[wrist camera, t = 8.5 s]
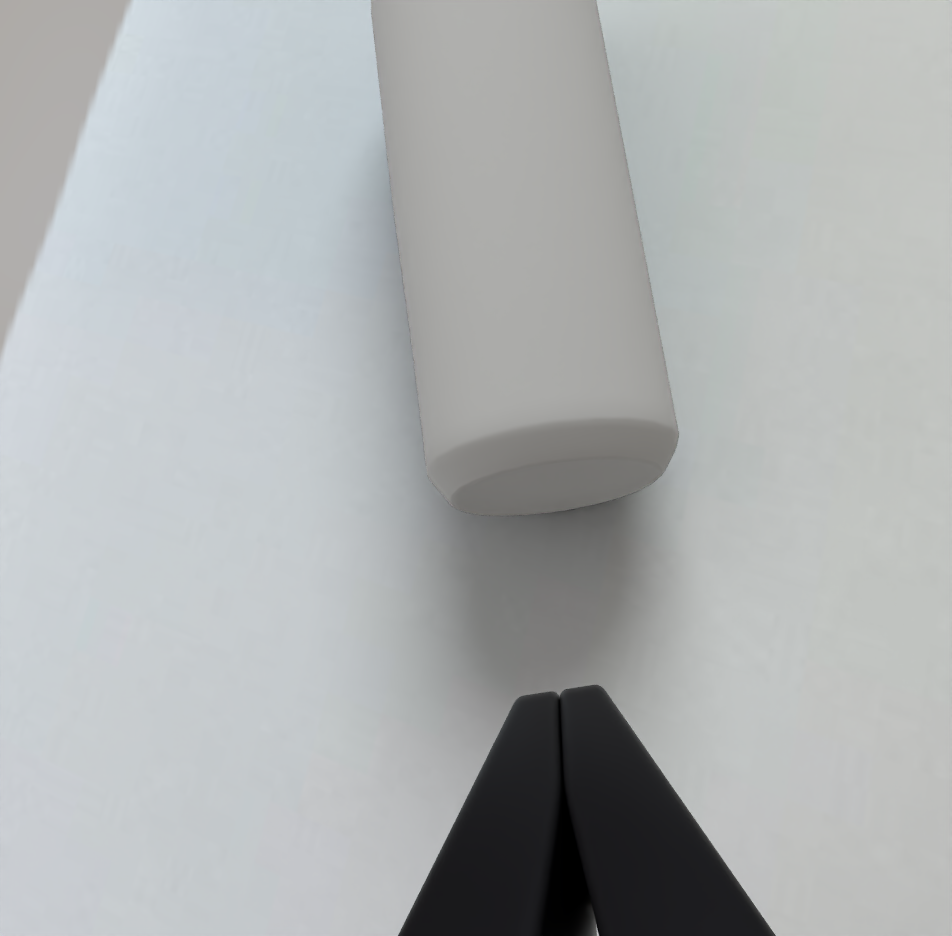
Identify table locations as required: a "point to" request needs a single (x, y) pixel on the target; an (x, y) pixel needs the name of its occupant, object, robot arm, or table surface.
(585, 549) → the table surface
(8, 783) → the table surface
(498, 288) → the beverage can
